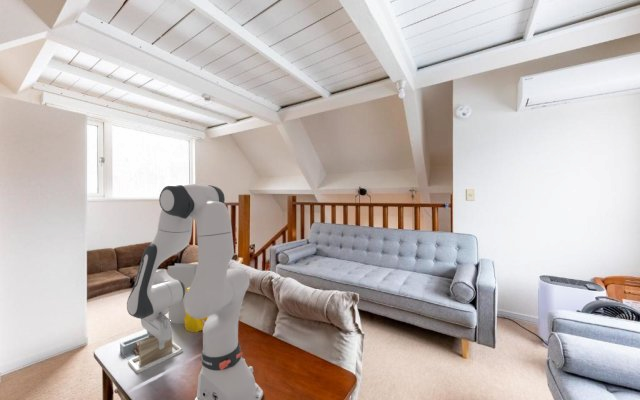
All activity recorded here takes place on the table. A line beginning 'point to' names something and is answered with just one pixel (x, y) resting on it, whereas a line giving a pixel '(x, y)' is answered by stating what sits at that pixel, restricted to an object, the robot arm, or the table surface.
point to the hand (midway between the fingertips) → (156, 344)
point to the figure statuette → (193, 322)
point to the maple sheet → (153, 349)
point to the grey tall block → (186, 276)
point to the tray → (137, 370)
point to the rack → (131, 346)
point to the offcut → (136, 352)
